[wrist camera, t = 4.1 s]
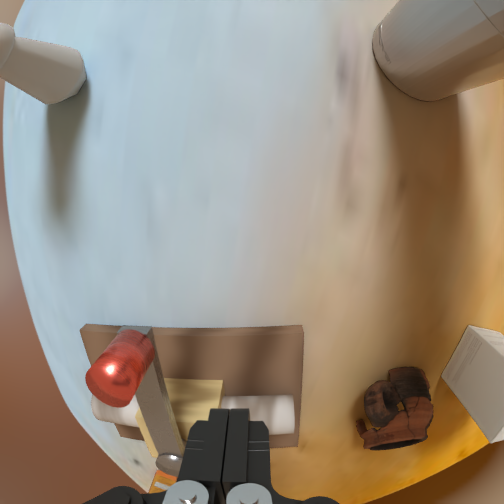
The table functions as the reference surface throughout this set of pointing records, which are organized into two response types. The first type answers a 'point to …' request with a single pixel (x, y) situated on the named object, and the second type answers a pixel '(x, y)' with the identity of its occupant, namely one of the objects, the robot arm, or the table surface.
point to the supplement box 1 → (161, 482)
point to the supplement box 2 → (480, 378)
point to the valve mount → (216, 377)
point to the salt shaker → (40, 67)
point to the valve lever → (139, 389)
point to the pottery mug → (386, 412)
